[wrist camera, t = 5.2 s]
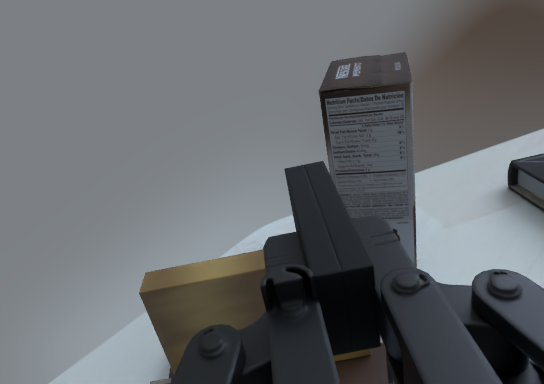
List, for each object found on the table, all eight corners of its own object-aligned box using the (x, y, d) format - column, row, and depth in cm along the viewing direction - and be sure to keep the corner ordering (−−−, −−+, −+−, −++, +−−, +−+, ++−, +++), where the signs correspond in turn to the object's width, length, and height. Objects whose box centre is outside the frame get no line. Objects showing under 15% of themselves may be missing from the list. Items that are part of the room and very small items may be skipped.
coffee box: (348, 216, 44) (330, 59, 36) (413, 214, 42) (407, 49, 34) (339, 272, 36) (314, 89, 29) (418, 273, 34) (413, 77, 27)
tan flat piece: (180, 391, 26) (136, 289, 22) (184, 367, 27) (143, 268, 24) (371, 355, 25) (360, 246, 22) (363, 333, 27) (352, 228, 23)
